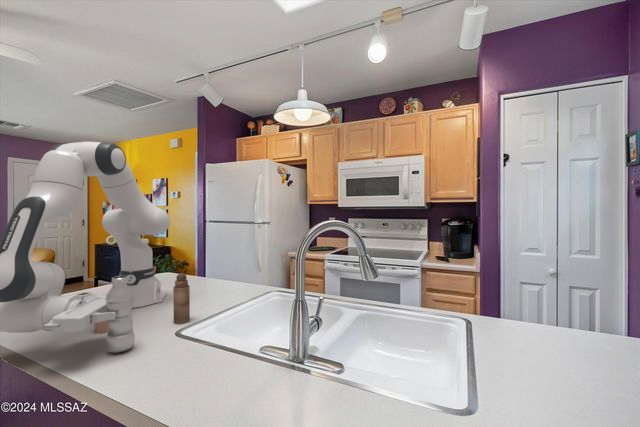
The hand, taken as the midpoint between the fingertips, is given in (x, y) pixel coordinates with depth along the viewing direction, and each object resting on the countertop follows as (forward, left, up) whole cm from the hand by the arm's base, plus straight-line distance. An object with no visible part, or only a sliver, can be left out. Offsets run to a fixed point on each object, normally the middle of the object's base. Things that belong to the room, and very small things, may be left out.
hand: (123, 309), depth 82 cm
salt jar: (-16, -13, -11) cm, 23 cm away
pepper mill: (-20, +9, -11) cm, 25 cm away
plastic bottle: (0, -1, -11) cm, 11 cm away
